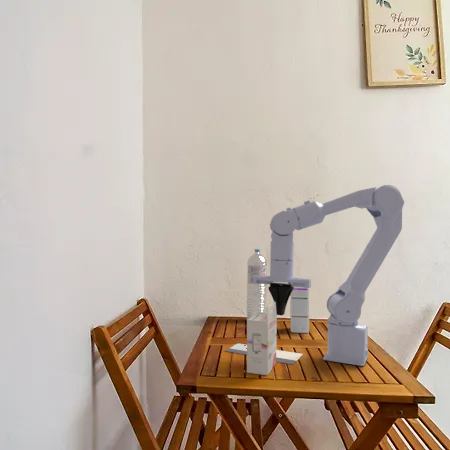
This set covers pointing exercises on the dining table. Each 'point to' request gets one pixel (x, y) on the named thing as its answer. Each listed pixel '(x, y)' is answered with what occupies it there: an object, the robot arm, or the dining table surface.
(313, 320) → the dining table surface
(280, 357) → the cream label card
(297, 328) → the syrup box
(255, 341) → the ink cartridge box
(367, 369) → the dining table surface
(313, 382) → the dining table surface
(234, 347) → the grey-blue label card
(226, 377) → the dining table surface
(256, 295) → the water bottle
